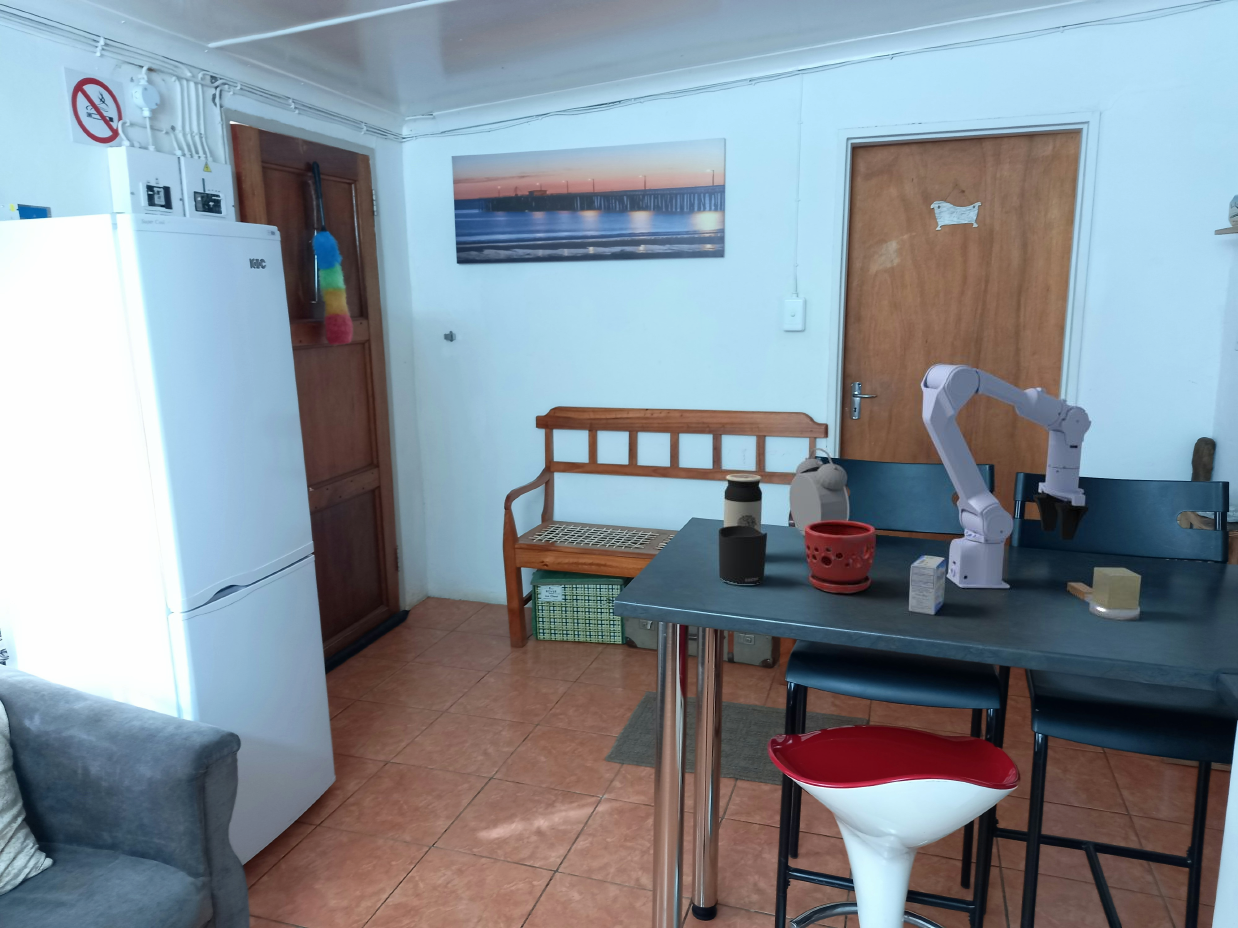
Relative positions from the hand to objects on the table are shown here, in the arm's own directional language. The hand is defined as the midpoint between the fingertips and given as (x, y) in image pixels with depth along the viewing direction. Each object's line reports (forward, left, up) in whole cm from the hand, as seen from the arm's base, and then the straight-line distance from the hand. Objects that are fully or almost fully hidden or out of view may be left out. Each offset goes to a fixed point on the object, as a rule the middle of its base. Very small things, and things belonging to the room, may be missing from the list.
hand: (1057, 534), depth 168 cm
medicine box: (-31, -18, -10) cm, 37 cm away
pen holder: (-62, -2, -10) cm, 63 cm away
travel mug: (-60, +15, -10) cm, 63 cm away
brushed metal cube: (+1, -20, -8) cm, 21 cm away
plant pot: (-44, -6, -10) cm, 45 cm away
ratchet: (+1, -15, -9) cm, 18 cm away
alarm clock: (-40, +33, -10) cm, 53 cm away
